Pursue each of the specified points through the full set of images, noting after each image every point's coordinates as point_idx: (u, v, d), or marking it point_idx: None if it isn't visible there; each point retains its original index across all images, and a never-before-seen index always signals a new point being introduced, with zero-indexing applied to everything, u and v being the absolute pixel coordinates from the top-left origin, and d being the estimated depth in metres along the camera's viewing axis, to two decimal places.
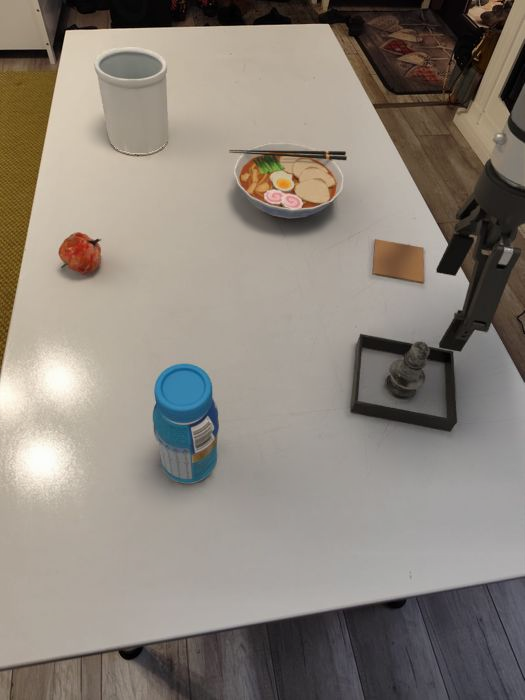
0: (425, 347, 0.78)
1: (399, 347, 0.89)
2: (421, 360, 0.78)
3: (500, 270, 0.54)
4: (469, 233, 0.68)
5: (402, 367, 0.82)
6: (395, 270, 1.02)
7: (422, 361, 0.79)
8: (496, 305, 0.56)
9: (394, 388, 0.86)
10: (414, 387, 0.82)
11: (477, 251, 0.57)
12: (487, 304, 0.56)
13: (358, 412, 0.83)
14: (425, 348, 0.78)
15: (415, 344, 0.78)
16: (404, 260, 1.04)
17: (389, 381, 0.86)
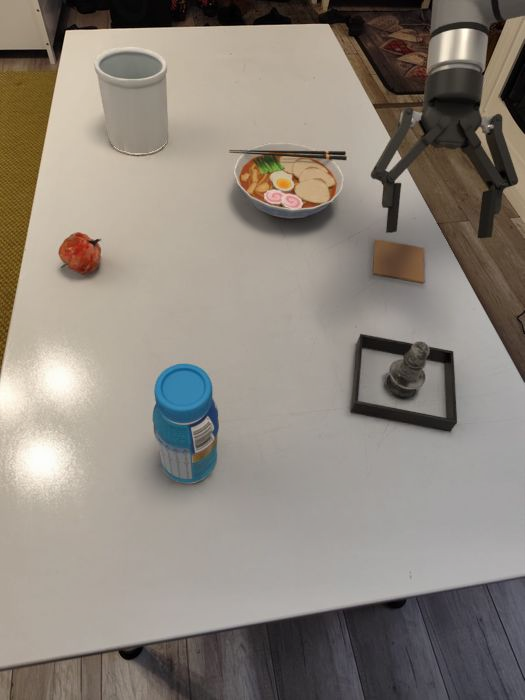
0: (425, 347, 0.78)
1: (399, 347, 0.89)
2: (421, 360, 0.78)
3: (398, 127, 0.71)
4: (494, 186, 0.73)
5: (402, 367, 0.82)
6: (395, 270, 1.02)
7: (422, 361, 0.79)
8: (386, 150, 0.71)
9: (394, 388, 0.86)
10: (414, 387, 0.82)
11: None
12: (383, 152, 0.71)
13: (358, 412, 0.83)
14: (425, 348, 0.78)
15: (415, 344, 0.78)
16: (404, 260, 1.04)
17: (389, 381, 0.86)
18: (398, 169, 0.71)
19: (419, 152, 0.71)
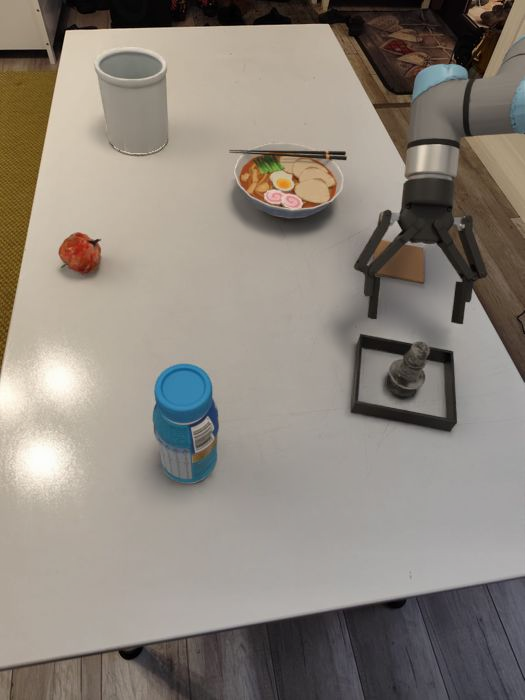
0: (425, 347, 0.78)
1: (399, 347, 0.89)
2: (421, 360, 0.78)
3: (379, 226, 0.79)
4: (466, 278, 0.80)
5: (402, 367, 0.82)
6: (395, 270, 1.02)
7: (422, 361, 0.79)
8: (367, 248, 0.78)
9: (394, 388, 0.86)
10: (414, 387, 0.82)
11: (397, 235, 0.81)
12: (365, 248, 0.79)
13: (358, 412, 0.83)
14: (425, 348, 0.78)
15: (415, 344, 0.78)
16: (404, 260, 1.04)
17: (389, 381, 0.86)
18: (377, 264, 0.78)
19: (397, 249, 0.78)
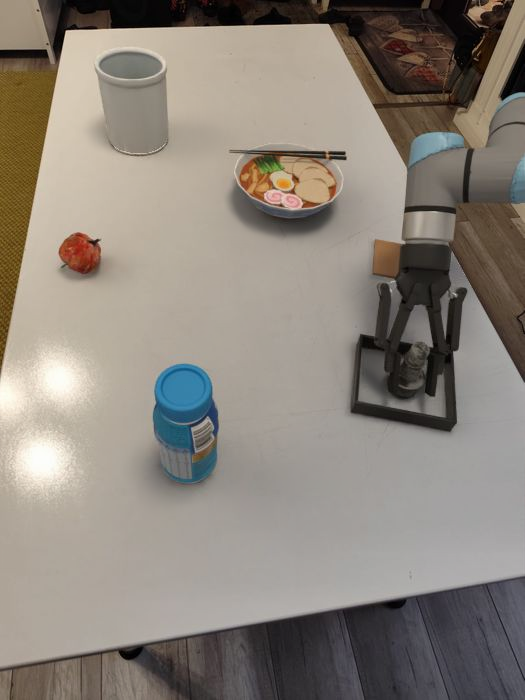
0: (425, 347, 0.78)
1: (399, 347, 0.89)
2: (421, 360, 0.78)
3: (381, 300, 0.79)
4: (438, 349, 0.80)
5: (402, 367, 0.82)
6: (395, 270, 1.02)
7: (422, 361, 0.79)
8: (380, 325, 0.79)
9: None
10: (414, 387, 0.82)
11: (400, 301, 0.81)
12: (378, 325, 0.80)
13: (358, 412, 0.83)
14: (425, 348, 0.78)
15: (415, 344, 0.78)
16: None
17: None
18: (395, 340, 0.79)
19: (407, 319, 0.79)
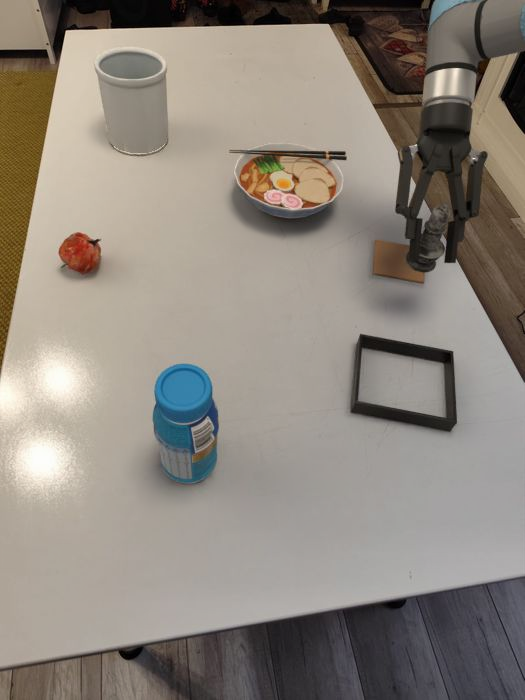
0: (446, 209, 0.79)
1: (399, 347, 0.89)
2: (442, 223, 0.79)
3: (403, 165, 0.80)
4: (458, 216, 0.81)
5: (422, 236, 0.83)
6: (395, 270, 1.02)
7: (443, 224, 0.80)
8: (401, 189, 0.80)
9: (414, 262, 0.87)
10: (434, 256, 0.83)
11: (420, 170, 0.82)
12: (399, 190, 0.81)
13: (358, 412, 0.83)
14: (446, 210, 0.79)
15: (436, 207, 0.79)
16: (404, 260, 1.04)
17: None
18: (416, 204, 0.80)
19: (428, 183, 0.80)
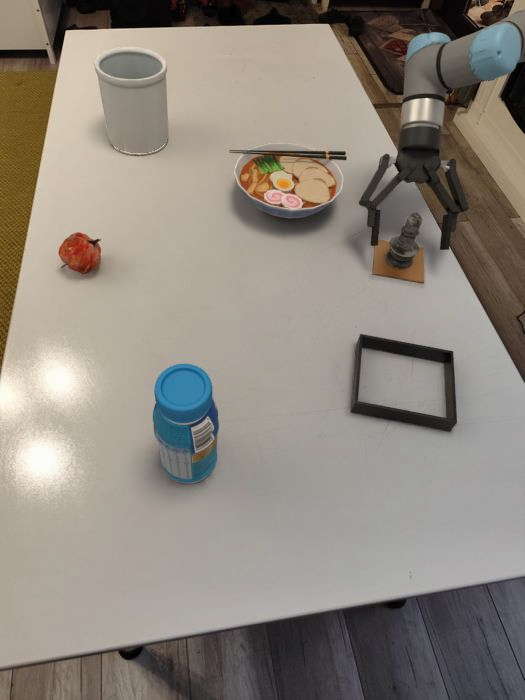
0: (418, 216, 0.95)
1: (399, 347, 0.89)
2: (416, 227, 0.96)
3: (379, 168, 0.96)
4: (451, 211, 0.97)
5: (400, 239, 1.00)
6: (395, 270, 1.02)
7: (416, 229, 0.96)
8: (369, 185, 0.95)
9: (393, 260, 1.03)
10: (410, 255, 1.00)
11: None
12: (368, 186, 0.96)
13: (358, 412, 0.83)
14: (418, 216, 0.95)
15: (410, 214, 0.96)
16: None
17: (389, 255, 1.04)
18: (378, 199, 0.96)
19: (394, 186, 0.95)
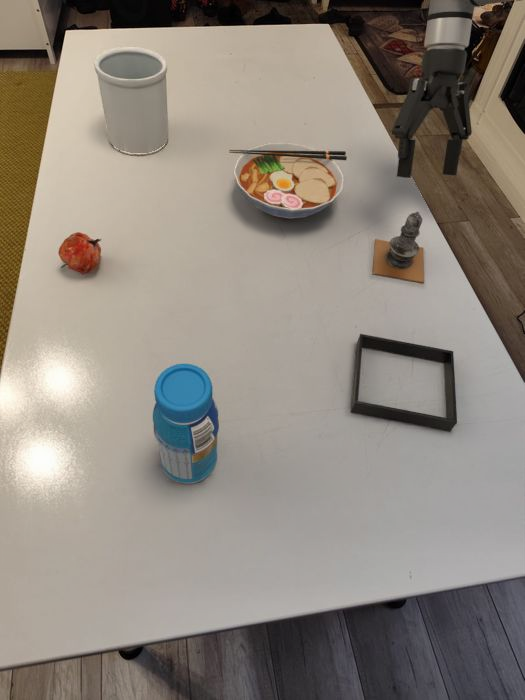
0: (418, 216, 0.95)
1: (399, 347, 0.89)
2: (415, 227, 0.96)
3: (413, 93, 0.91)
4: (458, 136, 1.01)
5: (400, 238, 1.00)
6: (395, 270, 1.02)
7: (416, 229, 0.96)
8: (408, 114, 0.91)
9: (393, 260, 1.03)
10: (410, 255, 1.00)
11: None
12: (404, 114, 0.91)
13: (358, 412, 0.83)
14: (418, 216, 0.95)
15: (410, 214, 0.96)
16: None
17: (389, 255, 1.04)
18: (414, 128, 0.92)
19: (426, 114, 0.93)
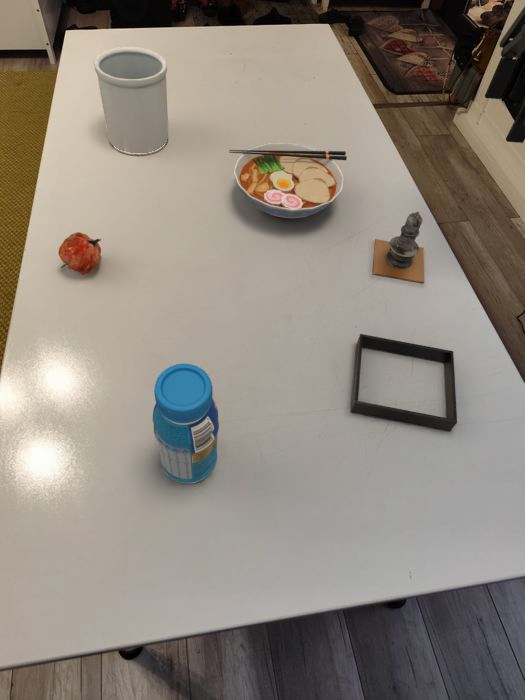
0: (418, 216, 0.95)
1: (399, 347, 0.89)
2: (415, 227, 0.96)
3: None
4: (513, 55, 0.87)
5: (400, 238, 1.00)
6: (395, 270, 1.02)
7: (416, 229, 0.96)
8: None
9: (393, 260, 1.03)
10: (410, 255, 1.00)
11: None
12: None
13: (358, 412, 0.83)
14: (418, 216, 0.95)
15: (410, 214, 0.96)
16: None
17: (389, 255, 1.04)
18: None
19: None
